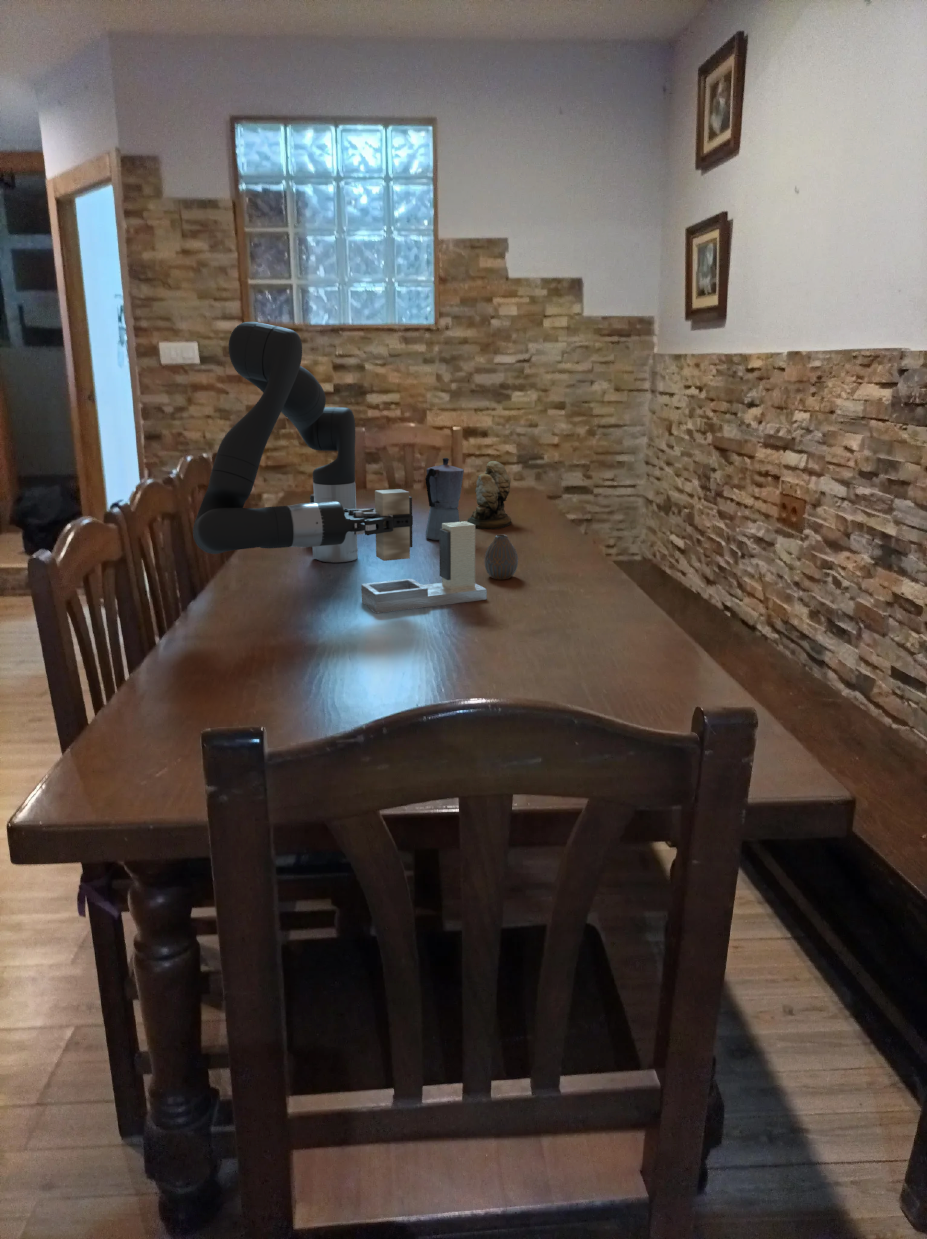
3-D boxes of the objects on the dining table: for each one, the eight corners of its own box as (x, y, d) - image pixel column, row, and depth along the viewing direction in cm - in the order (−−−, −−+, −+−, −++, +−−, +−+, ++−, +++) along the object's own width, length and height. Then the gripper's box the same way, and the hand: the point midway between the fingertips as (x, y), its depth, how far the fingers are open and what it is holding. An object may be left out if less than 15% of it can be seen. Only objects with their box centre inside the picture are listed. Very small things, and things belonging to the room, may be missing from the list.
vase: (515, 582, 176) (515, 539, 173) (481, 580, 177) (481, 538, 174) (519, 574, 182) (520, 533, 179) (487, 572, 183) (487, 531, 181)
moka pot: (473, 535, 221) (473, 456, 216) (446, 546, 208) (446, 462, 202) (439, 531, 225) (439, 454, 219) (411, 543, 212) (410, 460, 206)
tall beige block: (383, 560, 154) (382, 493, 150) (376, 556, 157) (374, 490, 154) (413, 558, 156) (412, 491, 153) (404, 553, 160) (404, 488, 156)
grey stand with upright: (376, 613, 154) (374, 536, 150) (361, 602, 161) (359, 528, 157) (486, 599, 163) (487, 526, 159) (468, 589, 170) (468, 518, 166)
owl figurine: (474, 517, 247) (474, 456, 242) (514, 518, 245) (516, 458, 240) (462, 528, 230) (463, 463, 225) (506, 530, 228) (508, 465, 223)
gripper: (325, 509, 142) (422, 502, 149) (302, 497, 154) (392, 491, 161) (327, 553, 144) (422, 545, 151) (304, 538, 156) (393, 531, 163)
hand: (406, 517), depth 156 cm, fingers closed on tall beige block, 4 cm apart
